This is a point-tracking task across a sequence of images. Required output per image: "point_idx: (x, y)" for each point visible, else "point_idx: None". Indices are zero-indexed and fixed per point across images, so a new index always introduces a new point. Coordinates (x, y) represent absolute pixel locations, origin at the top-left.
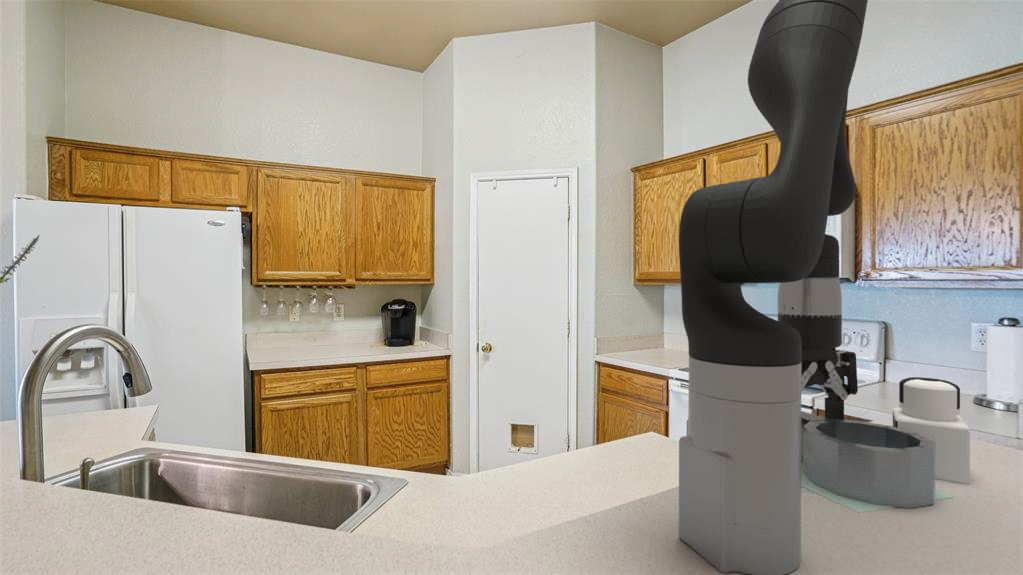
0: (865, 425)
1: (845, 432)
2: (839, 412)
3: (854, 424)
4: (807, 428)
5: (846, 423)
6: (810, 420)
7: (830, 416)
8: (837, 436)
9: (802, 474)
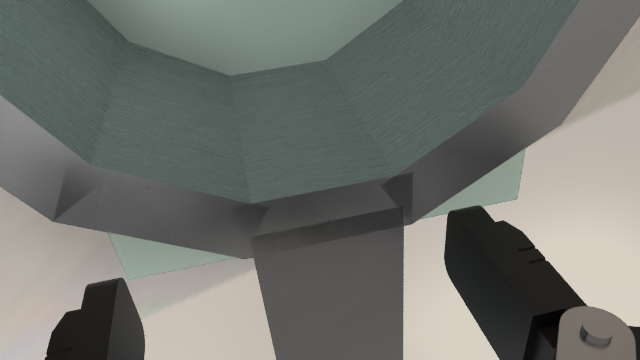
0: (62, 132)
1: (191, 151)
2: (103, 345)
3: (132, 167)
4: (583, 78)
5: (188, 182)
6: (401, 232)
7: (130, 350)
8: (236, 148)
9: None
